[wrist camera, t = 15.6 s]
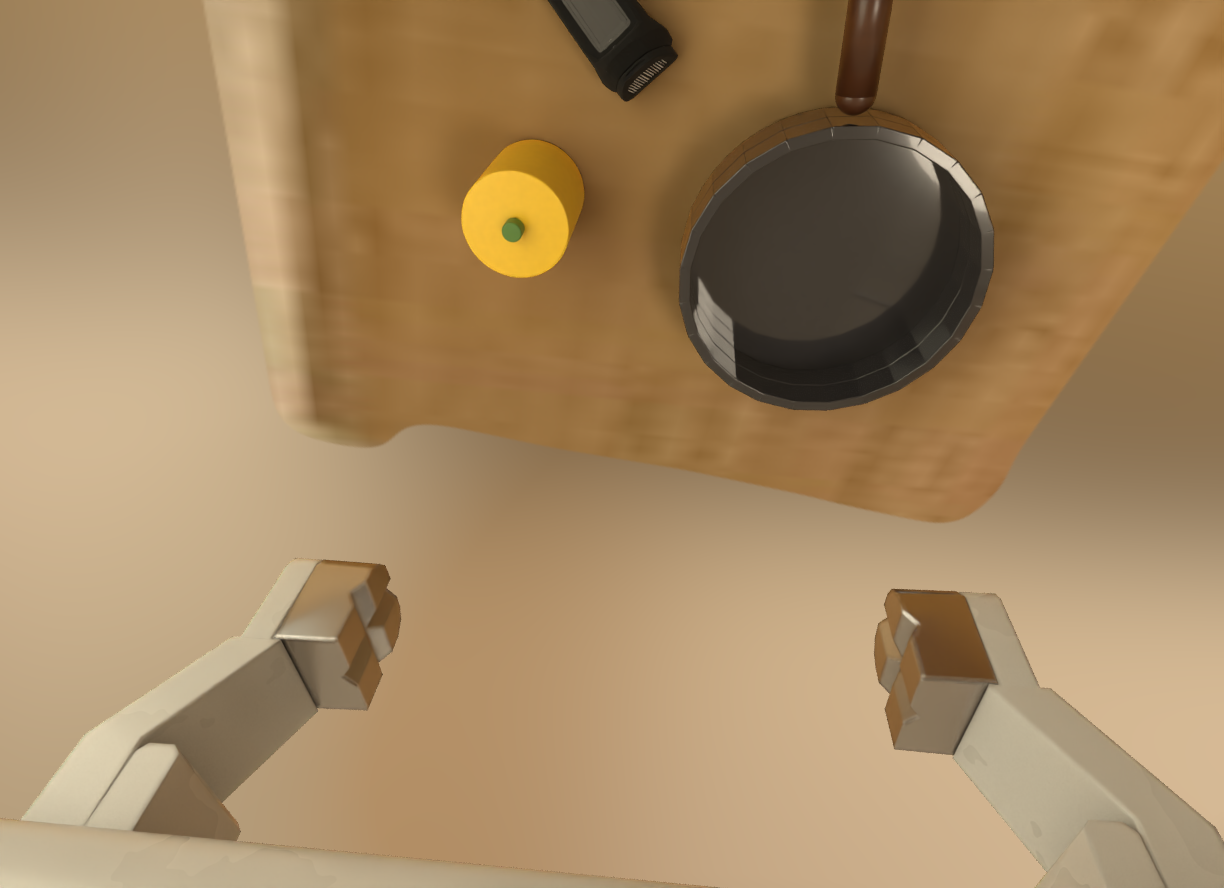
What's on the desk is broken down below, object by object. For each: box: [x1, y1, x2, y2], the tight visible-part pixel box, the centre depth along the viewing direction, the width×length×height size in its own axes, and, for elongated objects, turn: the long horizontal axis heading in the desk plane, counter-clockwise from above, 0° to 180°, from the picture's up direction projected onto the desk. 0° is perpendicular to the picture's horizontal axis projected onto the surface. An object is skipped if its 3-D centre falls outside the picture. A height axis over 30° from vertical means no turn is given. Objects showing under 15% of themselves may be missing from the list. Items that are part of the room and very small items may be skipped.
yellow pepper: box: [461, 139, 584, 278], centre depth 36 cm, size 5×5×6 cm
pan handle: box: [835, 0, 893, 116], centre depth 29 cm, size 9×2×2 cm, turn 2°
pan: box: [679, 107, 994, 411], centre depth 38 cm, size 16×16×4 cm
